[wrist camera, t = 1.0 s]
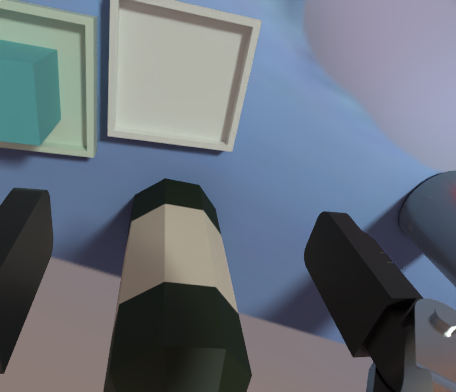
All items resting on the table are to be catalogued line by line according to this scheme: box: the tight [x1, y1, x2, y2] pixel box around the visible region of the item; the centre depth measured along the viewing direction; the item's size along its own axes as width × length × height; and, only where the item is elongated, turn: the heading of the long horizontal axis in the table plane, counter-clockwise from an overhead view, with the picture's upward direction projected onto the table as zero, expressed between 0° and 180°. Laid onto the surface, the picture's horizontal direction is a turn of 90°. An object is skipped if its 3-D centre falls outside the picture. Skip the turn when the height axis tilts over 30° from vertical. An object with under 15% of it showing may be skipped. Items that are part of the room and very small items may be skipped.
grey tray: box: [108, 0, 262, 152], centre depth 25 cm, size 10×10×1 cm
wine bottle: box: [104, 179, 252, 392], centre depth 20 cm, size 8×8×30 cm
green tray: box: [0, 0, 97, 158], centre depth 23 cm, size 10×10×1 cm
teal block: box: [0, 40, 61, 146], centre depth 21 cm, size 5×5×5 cm
